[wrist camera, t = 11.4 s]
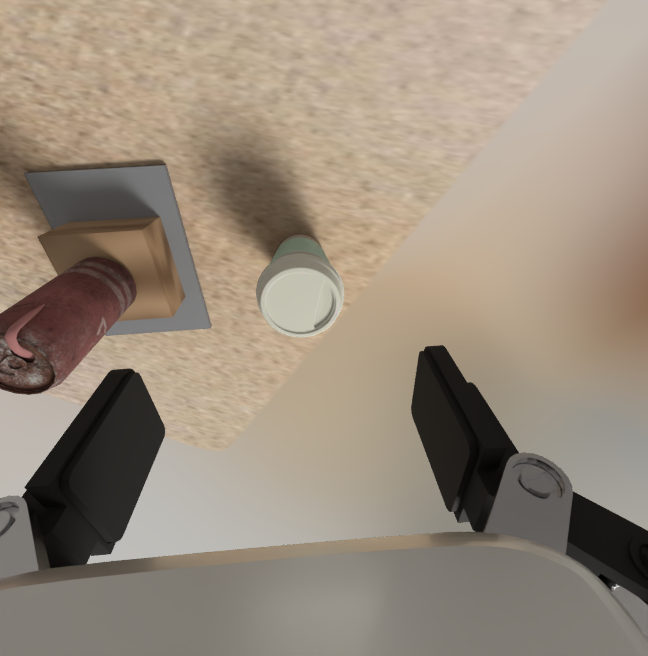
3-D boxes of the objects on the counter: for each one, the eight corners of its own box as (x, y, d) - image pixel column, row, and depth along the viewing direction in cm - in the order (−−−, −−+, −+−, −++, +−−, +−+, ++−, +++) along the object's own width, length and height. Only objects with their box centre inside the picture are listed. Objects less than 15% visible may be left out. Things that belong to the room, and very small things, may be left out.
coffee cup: (303, 300, 44) (304, 356, 34) (251, 259, 40) (235, 308, 30) (349, 255, 41) (365, 301, 31) (297, 206, 37) (296, 241, 27)
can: (137, 259, 33) (50, 335, 22) (140, 311, 37) (66, 403, 25) (71, 246, 32) (-59, 320, 21) (80, 302, 36) (-27, 393, 24)
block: (67, 222, 36) (37, 236, 32) (160, 216, 36) (141, 230, 32) (105, 302, 41) (83, 323, 37) (185, 296, 42) (172, 317, 37)
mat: (28, 172, 33) (24, 173, 33) (166, 164, 34) (164, 165, 33) (108, 333, 45) (105, 335, 44) (211, 325, 45) (210, 328, 44)
